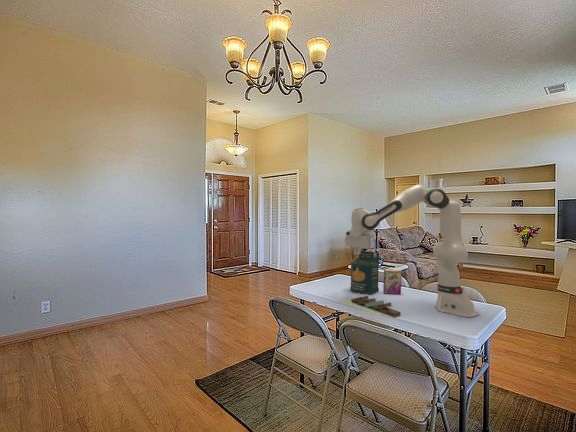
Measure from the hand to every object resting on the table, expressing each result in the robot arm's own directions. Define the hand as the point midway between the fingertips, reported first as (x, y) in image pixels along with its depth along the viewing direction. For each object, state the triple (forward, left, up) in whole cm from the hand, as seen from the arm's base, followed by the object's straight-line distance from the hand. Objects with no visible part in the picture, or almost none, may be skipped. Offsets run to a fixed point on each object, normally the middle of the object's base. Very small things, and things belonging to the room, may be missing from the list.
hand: (357, 254), depth 201 cm
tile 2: (-22, +8, -28) cm, 36 cm away
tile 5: (-5, +8, -28) cm, 29 cm away
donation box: (+10, -16, -29) cm, 35 cm away
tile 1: (-27, +8, -28) cm, 40 cm away
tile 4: (-11, +8, -28) cm, 31 cm away
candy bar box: (-4, -30, -29) cm, 42 cm away
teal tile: (-17, +8, -28) cm, 33 cm away
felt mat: (-15, +8, -29) cm, 34 cm away
